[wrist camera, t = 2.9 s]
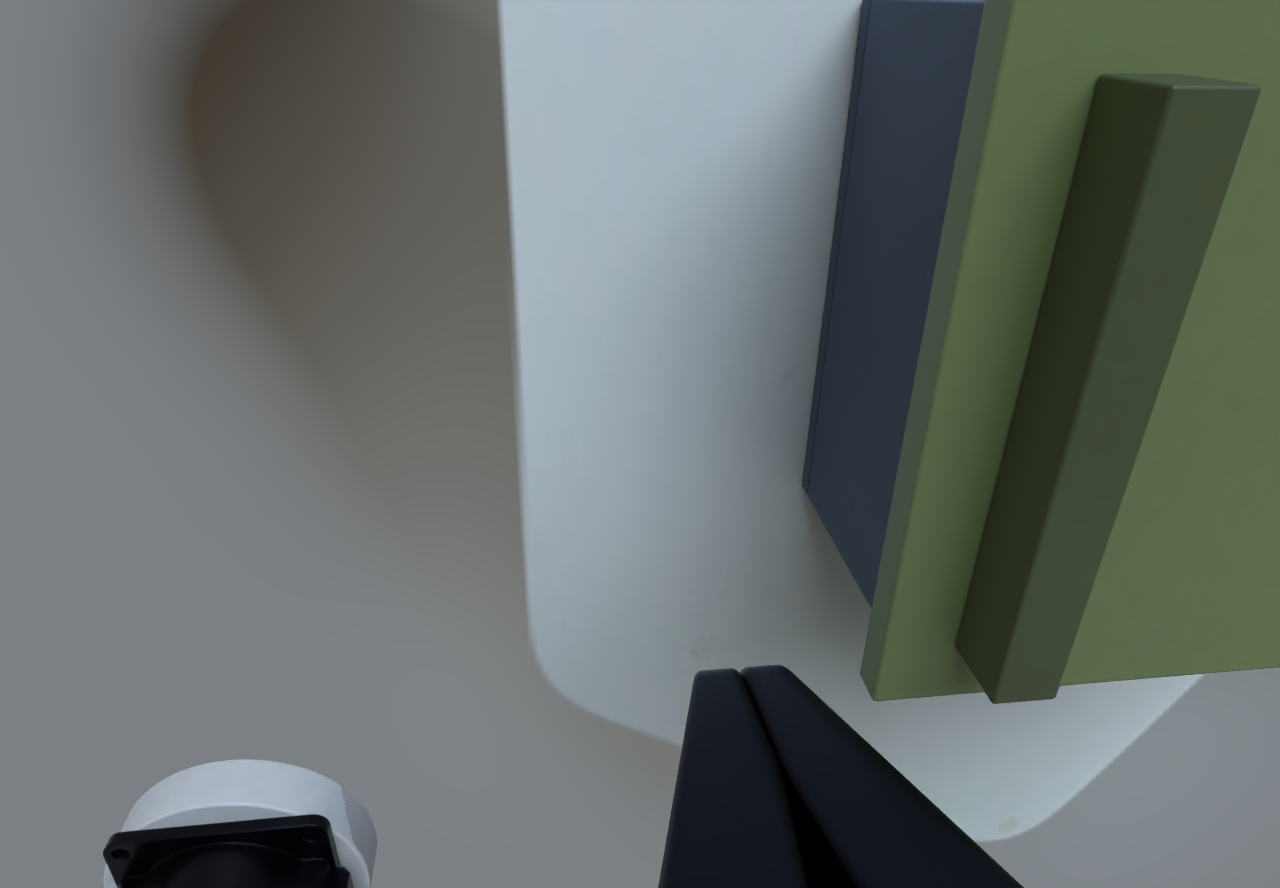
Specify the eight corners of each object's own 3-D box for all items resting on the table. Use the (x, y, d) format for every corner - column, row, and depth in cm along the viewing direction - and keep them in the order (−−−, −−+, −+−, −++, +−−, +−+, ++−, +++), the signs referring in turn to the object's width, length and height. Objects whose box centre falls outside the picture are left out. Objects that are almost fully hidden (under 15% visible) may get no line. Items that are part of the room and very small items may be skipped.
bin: (801, 486, 23) (895, 652, 17) (862, -3, 17) (1030, 4, 12) (1259, 461, 24) (1485, 606, 19) (1449, 8, 19) (1851, 18, 13)
